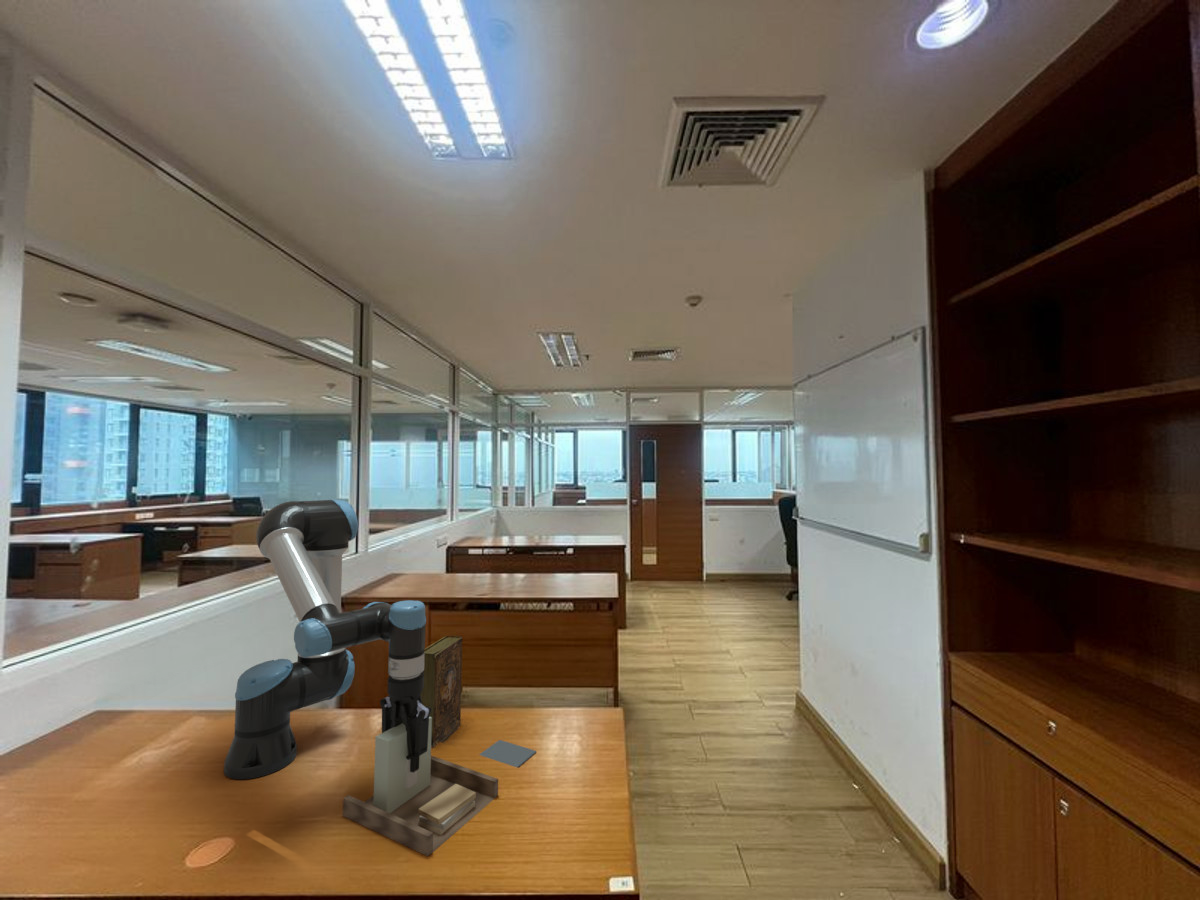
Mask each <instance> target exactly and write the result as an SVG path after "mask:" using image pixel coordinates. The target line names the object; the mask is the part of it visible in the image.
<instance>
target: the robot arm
mask: <svg viewBox="0 0 1200 900" xmlns="http://www.w3.org/2000/svg"><path fill="white" fill-rule="evenodd" d="M358 530H359V523H358V516H357V514H356V511H355V509H354V506H352V505H351V504H350V503H349V501H346V500H342V499H340V500H339V499H324V500H323V499H321V500H299V501H297V500H293V501H292V500H290V501H285V502H282V503H280V504H277V505H276V506H274V507H272V508H271V509H270V510H269V511H268V512H266V513H265V515H264V516H263V517H262V518H261V520H260V522H259V524H258V526H257V530H256V533H255V534H256V537H255V540H256V544H257V545H256V546H258V547H257V548H258V549H259V551H260V553H261V555H262V556H263V557H265V558H267V559H269V561H270V562H271V565H272V567H273V570H274V571H275V574H276V575H277V578H278V579H279V582H280V584H281V586H282V587H283V590H284V592H285V594H286V596H287V598H288V601H289V603H290V605H291V607H292V609H293V611H294V613H295V615H296V618H297V619H298V621H299V622H298V623H297V624H296V626H295V628H294V632H293V642H294V647H295V648H294V649H295V650H296V652H297V661H296V662H292V661H291V660H290V659H288V658H278V659H275V660H274V659H270V660H268V661H267V660H266V661H263V662H261V663H257V664H256V665H253V666H251V667H250V668H248V669H246V670H245V671H244V672H243V673H241V675H239V677H238V679H237V681H236V688H235V689H236V691H235V695H234V699H235V712H234V733H233V735H234V736H233V739H232V741H231V744H230V746H229V749H228V752H227V753H226V757H225V760H224V766H223V773H224V775H225V776H226V777H227V778H230V779H231V780H232V779H234V780H248V779H256V778H259V777H263V776H266V775H270V774H272V773H275V772H278V771H279V770H281V769H283V768H285V767H287V766H288V765H289V764H291V763H292V762H293V761H294V760H295V758H296V756H297V754H298V751H297V749H298V744H297V740H296V738H295V734H294V733H293V730H292V727H291V713H292V712H294V711H297V710H300V709H303V708H306V707H309V706H312V705H315V704H318V703H322V702H325V701H329V700H332V699H334V698H335V697H338V696H341V695H343V694H345V693H346V692H347V691H348V689H350V687H351V686H352V683H353V681H354V677H355V671H356V670H355V661H354V656H353V653H351V651H350V650H348V649H347V648H350V647H353V646H359V645H361V644H366V643H370V642H374V641H378V640H382V641H385V642H388V663H387V666H388V668H387V669H388V670H387V673H388V675H389V676H388V678H387V691H386V692H387V695H388V696H386V697H384V698H381V699H380V701H379V703H380V708H381V734H382V733H383V732H385V731H387V730H389V729H391V728H393V727H396V726H398V725H400V724H402V723H403V724H404V725H405V727H406V731H407V745H408V754H409V755H408V756H406V764H405V789H408V788H410V787H411V786H413V785H414V784H416V783H417V770H418V769H419V756H420V755H422V754H423V753H425V752H427V747H428V728H429V716H430V713H431V707H427V708H426V707H425V706H423V705H422V700H421V692H422V690H423V688H424V673H423V671H424V649H425V648H426V647H425V645H426V644H425V643H426V623H427V616H426V606H425V603H424V602H423V601H421V600H407V599H406V600H400V601H396V602H394V603H392V604H389V603H388V602H384V601H383V602H382V601H373V602H370V603H368V604H366V605H365V606H363V607H362V608H360V609H355V610H350V611H344V612H342V581H343V580H342V577H343V574H342V573H343V554H344V553H345V552H346V551H347V550H349V542H351V541H352V540H354V539H356V537H357V533H358Z"/></svg>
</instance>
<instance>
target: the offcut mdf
mask: <svg viewBox="0 0 1200 900" xmlns="http://www.w3.org/2000/svg"><path fill="white" fill-rule="evenodd" d="M473 801H474V799H473V800H472V801H470V802H469V803H468V804H466V805H465V806H464V807H462V808H461V809H459V810H458V811H457V812H455V813H454V814H453V815H451V816H450V817H449V818H447V819H446V820H444V821H443V822H442V823H440V824H439V825H438V824H436V823H435V822H433V821H431V820H429V819H427V818H425V817H423V816H419V822H422V823H425V824H428V825H431V826H434V827H437V828H440V829H442V830H444V829H445V828H446V827H447V826H448V825H449V824H450V823H451V822H452V821H453V820H454V819H455V818H456V817H457V816H458V815H459V814H460V813H461V812H462V811H463V810H464V809H465V808H466V807H468V806H469V805H470V804H471V803H472V802H473Z"/></svg>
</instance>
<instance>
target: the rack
mask: <svg viewBox="0 0 1200 900" xmlns="http://www.w3.org/2000/svg"><path fill="white" fill-rule="evenodd" d="M455 784H458V785H460V786H462V787H465V788H467V789H469V790H471V791H473V792H476V798H474V801H475V807H473V808H472V809H471V810H470V811H469V812H467V813H466V814H465V815H464V816H463V817H462V818H460V819H459V820H458V821H457V822H456V823H454V824H453V825H452V826H451V827H450V828H449V829H447V830H446V831H445V832H444V833H443V834H441V835H439V834H437V833H434V832H432V831H430V830H428V829H425V828H423V827H421V826H419V825H418V822H419V816H421V815H419V814H418V809H419V808H420V807H422V806H423V805H425V804H426V803H428V802H429V801H431V800H432V799H434V798H435V797H437V796H438V795H440V794H441V793H443V792H444V791H446V790H447V789H449V788H450V787H452V786H453V785H455ZM498 796H499V778H497V777H494V776H491V775H487V774H485V773H482V772H478V770H477V771H476V770H475V769H474V770H473V769H471V768H469V767H465V766H462V765H459V764H456V763H454V762H451V761H448V760H445V759H442V758H439V757H438V756H437V757H436V756H434V755H431V772H430V785H429V786H428V787H426V788H425V789H424V790H422V791H421V792H419V793H418V794H416V795H415V796H414V797H412V798H411V799H409V800H408V801H407V802H405V803H404V804H402V805H401V806H400V807H398V808H397V809H395V810H394V811H393V812H391V813H388V812H386V811H383V810H381V809H379V808H377V807H374V806H373V802H374V795H372V796H371V797H369V798H368V799H366V800H365V801H363V800H361V799H358V798H356V797H354V796H351V795H350V794H348V795H346V796H345V797H343V801H342V806H343V807H342V817H343V818H346V819H348V820H351V821H352V822H354V823H356V824H359V825H361V826H363V827H365V828H367V829H369V830H371V831H373V832H375V833H378V834H380V835H382V836H385V837H386V838H388V839H390V840H392V841H395V842H396V843H398V844H400V845H403V846H404V847H407V848H409V849H411V850H414V851H416V852H418V853H420V854H422V855H424V856H426V857H429V856H430V855H432V853H434V852H435V851H436V850H438V848H440V847H441V846H442V845H443V844H445V842H447V840H449V839H450V838H451V837H452V836H453V835H454V834H456V833H457V832H458V831H459V830H460V829H461V828H463V827H464V826H465V825H466V824H467V823H469V821H470V820H472V819H473V818H474V817H476V815H478V814H479V813H480V812H481V811H482V810H483V809H484V808H486V807H487V805H489V804H490V803H492V802H493V800H495V799H496V798H497V797H498Z"/></svg>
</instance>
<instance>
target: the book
mask: <svg viewBox="0 0 1200 900" xmlns="http://www.w3.org/2000/svg"><path fill="white" fill-rule="evenodd" d="M462 657H463V636H460V635H444V636H443V637H441V638H440V639H438V640H437V641H435V642H433V643H432V644H430V645H428V646H427V647H425V649H424V671H423V673H424V688H423V690H422V692H421V700H422V705H423V706H425V707H426V708H427V707H431V713H430V716H429V717H432V732H431V749H433V748H435V747H436V746H437V745H438V744H439V743H442V744H444V743H446V741H447V740H448V739H449V738H450V737H452V735H453V734H454V733H455V732H456V731H457V730H458V729H459V728H460V727H461V718H462V717H461V715H462V713H461V711H462V709H461V708H462V666H463V659H462Z"/></svg>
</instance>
